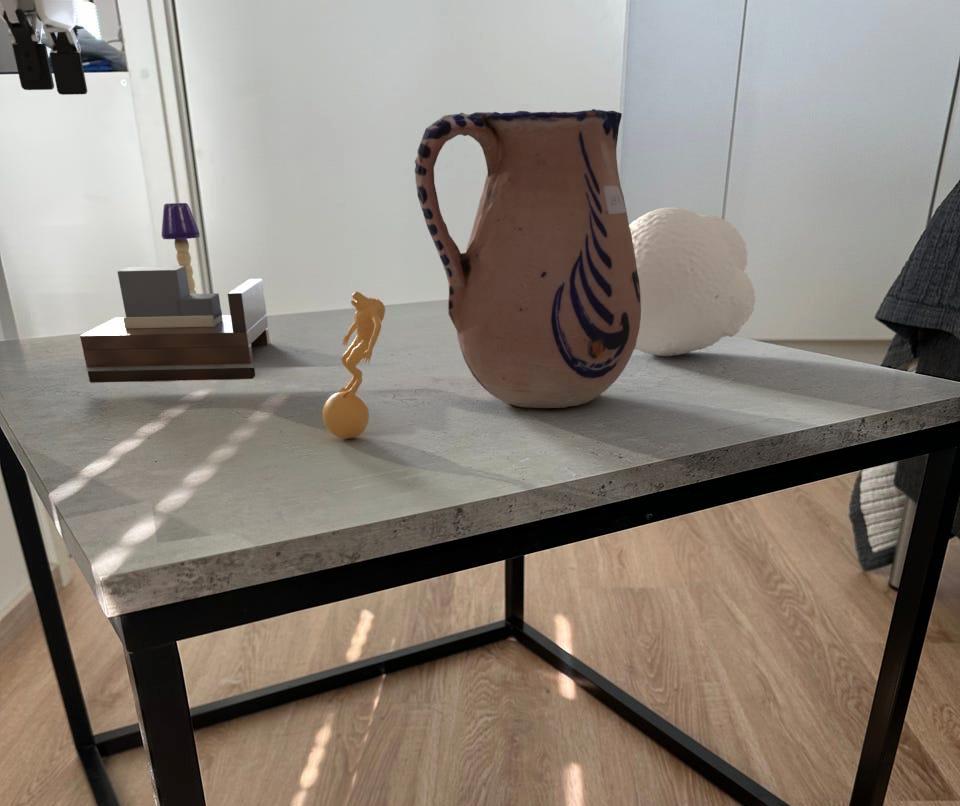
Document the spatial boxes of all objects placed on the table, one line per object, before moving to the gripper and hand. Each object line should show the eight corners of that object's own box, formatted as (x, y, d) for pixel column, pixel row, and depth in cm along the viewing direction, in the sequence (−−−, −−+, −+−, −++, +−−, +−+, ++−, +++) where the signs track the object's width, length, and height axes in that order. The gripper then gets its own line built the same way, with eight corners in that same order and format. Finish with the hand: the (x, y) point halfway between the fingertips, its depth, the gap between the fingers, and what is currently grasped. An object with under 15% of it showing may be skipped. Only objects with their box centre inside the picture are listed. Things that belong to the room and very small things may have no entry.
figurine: (316, 428, 84) (302, 288, 78) (380, 421, 86) (371, 283, 80) (335, 453, 77) (321, 301, 71) (404, 445, 79) (396, 296, 73)
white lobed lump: (556, 352, 112) (559, 208, 105) (649, 333, 122) (658, 200, 115) (690, 378, 99) (704, 215, 91) (782, 354, 109) (802, 205, 102)
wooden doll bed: (89, 382, 102) (71, 296, 98) (124, 360, 112) (108, 281, 108) (252, 379, 102) (241, 293, 98) (271, 357, 113) (262, 278, 108)
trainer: (124, 328, 103) (113, 271, 100) (136, 322, 107) (126, 266, 104) (214, 326, 103) (205, 269, 100) (223, 320, 107) (215, 264, 104)
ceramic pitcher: (672, 405, 89) (697, 105, 77) (482, 439, 80) (477, 105, 68) (569, 372, 102) (576, 113, 90) (396, 398, 93) (380, 113, 81)
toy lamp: (173, 340, 123) (150, 203, 116) (205, 336, 126) (185, 201, 118) (188, 345, 120) (166, 204, 112) (221, 340, 123) (201, 202, 115)
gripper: (15, -88, 99) (52, 96, 107) (-65, -130, 84) (-15, 88, 92) (85, -89, 99) (117, 95, 108) (17, -131, 84) (61, 87, 92)
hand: (56, 92), depth 100 cm, fingers open, 9 cm apart
